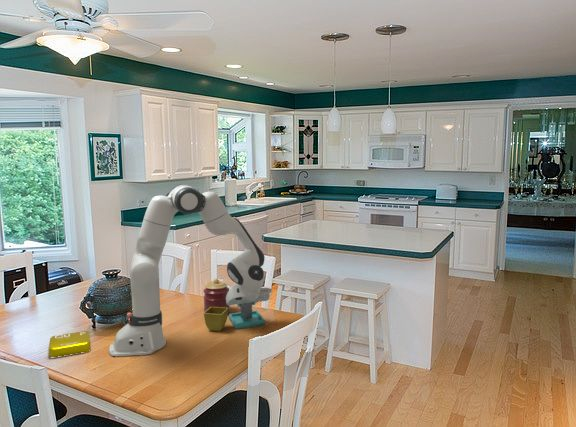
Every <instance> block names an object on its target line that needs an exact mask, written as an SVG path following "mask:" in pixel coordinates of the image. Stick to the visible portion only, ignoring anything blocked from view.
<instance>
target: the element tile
mask: <svg viewBox="0 0 576 427" xmlns="http://www.w3.org/2000/svg"><path fill="white" fill-rule="evenodd" d="M90 337H91V336H90V331H88V330H84V331H83V330H82V331H78V332H77V331H75V332H71V333H65V334H57V335H52V336H50V338H49V344H48V357H49V356H50V357H58V356H64V355H70V354H76V353H81V352H87V351H89V350H90V351H91V338H90ZM90 351H89V352H90ZM87 353H88V352H87ZM76 355H77V354H76ZM70 356H71V355H70ZM50 357H49V358H50Z"/></svg>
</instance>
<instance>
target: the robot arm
mask: <svg viewBox="0 0 576 427" xmlns="http://www.w3.org/2000/svg"><path fill="white" fill-rule="evenodd" d="M178 212H180V213H182V214H188V215H189V214H194V213H198V214H199V215H200V217H201V219H202V222H203V224H204V226H205V227H206V230H208V232H209V233H211V234H212V235H215V236H226V235H231V234H233V235H235V236H236V237H237V238H238V239H237V240H239V241H240V243H241V244H242V246H243V247H244V251H243V252H242V253H241V254H239V255H237V256H236V257H235V258H233V259H231V260H230V261H229V262H227V265H226V273H227V275H228V277H229V278H230V280H231V281H232V282H234V283H235V284H233V285H231V286H230V288H229V291H228V293H227V296H226V303H227V305H230V306H235V305H237V308H239V307H241V304H244V303H252V306H256V304H258V303H261V302H266V301H267V302H268V301H269V300H270V297H271V293H272V291H273V289H272V288H270V287H263V286H264V282H265V272H264V269H263V268H262V267H263V266H264V264H265V254H264V252H263V251H262V250H261V248H259V246H258V245H257V244H256V241H254V239H253V238H252V236H251V234H250V233H249V232H248V230H247V228H246V227H245V226H244V225H243V223H242V222H241V221H240V220H239V219H237V218H236V217H235V218H234V217H232V215H231V214H229V212H228V210H227V208H226V205H225V204H224V202H223V201H222V199H221V197H220V196H219V195H218V194H217V192H215V191H205V192H203V193H201V192H199V191H198V190H197V189H195V188H194V186H191V185H189V184H184V183H182V184H181V183H180V184H178V185H176V186H174V187H172V189H171V190H169V192H168V193H167V194H165V195H161V194H160V195H155V196H153V197H152V198H151V199H150V201H149V204H148V206H147V207H146V210H145V213H144V216H143V220H142V223H141V227H140V230H139V234H138V236H137V237H138V238H137V240H136V244H135V248H134V250H133V254H132V257H131V261H130V266H129V279H130V280H129V281H130V289H131V290H130V291H131V292H130V293H131V304H132V305H131V307H132V312H127V314H126V319H127V323H126V325H124V326H123V327H122V328H121V329H119V330H118V331H117V332H116V335H115V337H114V341H113V342H112V343H111V344H110V345H109V346H108V347H109V349H108V353H109V355H110V356H111V357H113V356H115V357H129V356H144V355H151V354H154V353H155V352H156V351H158V350H160V349H162V348H164V347H165V346H166V344H167V341H166V338H165V335H164V331H163V312H162V309H161V294H160V268H159V265H160V261H161V260H160V259H161V258H162V254H163V251H164V249H165V246H166V243H167V239H168V236H169V233H170V229H171V227H172V222H173V219H174V216H175V215H176V214H177V213H178ZM115 357H114V358H115Z"/></svg>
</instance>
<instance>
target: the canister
mask: <svg viewBox="0 0 576 427" xmlns="http://www.w3.org/2000/svg"><path fill="white" fill-rule="evenodd" d="M228 285H229V284H227V282H225V281H222V280H219V278H214V279H213V280H212V281H209V282H207V283H206V284H205V285H204V289H203V294H204V296H203V306H204V308H203V313H204V312H206V311H207V310H208V309H209V308H210V307H223V308H228V314H230V310H231V305H227V303H226V296H227V293H228V292H229V291H230V288H229V287H228Z"/></svg>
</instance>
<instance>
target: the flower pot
mask: <svg viewBox="0 0 576 427" xmlns="http://www.w3.org/2000/svg"><path fill="white" fill-rule="evenodd" d="M228 315H229V313H228V308H223V307H210V308H209V309H208V310H207V311H206V312H204V311H203V317H204V323H205V326H206V328H207V329H208V330H209V331H210V332H221V331H222V330H223V328H224V327H225V326H226V323H227V319H228Z"/></svg>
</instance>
